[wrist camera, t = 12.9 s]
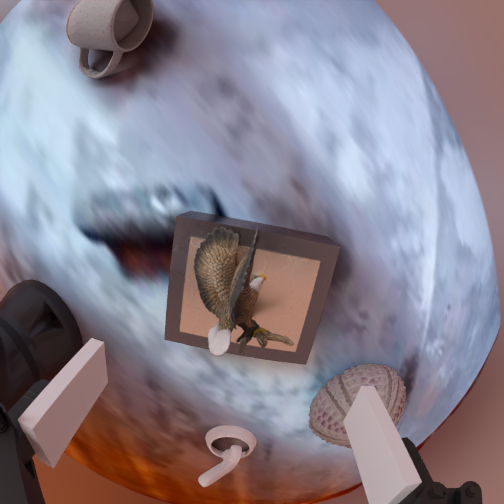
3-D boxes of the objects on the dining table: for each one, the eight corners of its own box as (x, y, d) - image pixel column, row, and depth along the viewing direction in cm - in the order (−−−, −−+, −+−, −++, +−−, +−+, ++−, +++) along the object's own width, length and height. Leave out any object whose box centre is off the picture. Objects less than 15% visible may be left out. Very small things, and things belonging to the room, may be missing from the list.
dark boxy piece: (299, 339, 31) (306, 366, 26) (177, 317, 31) (163, 340, 26) (327, 236, 28) (341, 247, 23) (190, 210, 28) (175, 216, 23)
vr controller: (172, 433, 29) (214, 464, 25) (229, 408, 39) (266, 429, 35) (166, 468, 29) (203, 497, 25) (219, 441, 39) (253, 462, 36)
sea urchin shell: (406, 348, 32) (434, 382, 24) (387, 418, 35) (404, 454, 27) (308, 362, 32) (319, 406, 24) (303, 432, 35) (310, 473, 27)
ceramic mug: (109, 10, 22) (81, -16, 15) (161, 10, 23) (139, -23, 15) (74, 79, 25) (37, 63, 17) (125, 84, 25) (90, 62, 18)
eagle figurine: (312, 311, 23) (280, 212, 20) (276, 377, 18) (224, 268, 15) (240, 307, 28) (203, 225, 24) (198, 359, 23) (144, 270, 19)
